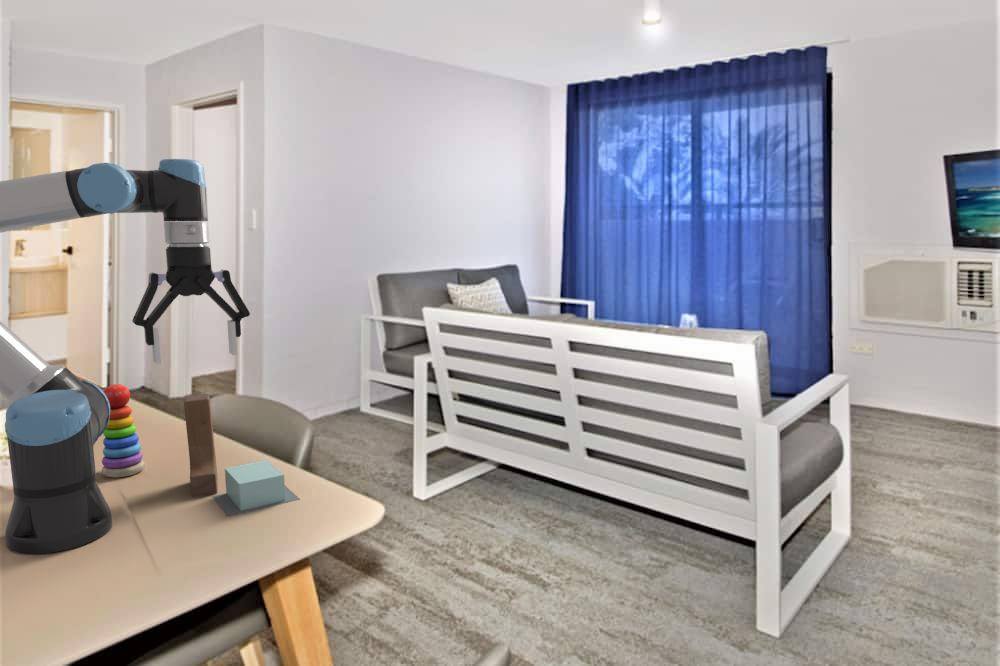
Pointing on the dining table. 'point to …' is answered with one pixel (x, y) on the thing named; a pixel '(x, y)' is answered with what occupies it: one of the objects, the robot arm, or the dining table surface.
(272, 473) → the plinth
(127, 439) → the stacking toy
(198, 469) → the wooden block
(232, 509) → the mat
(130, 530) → the dining table surface
